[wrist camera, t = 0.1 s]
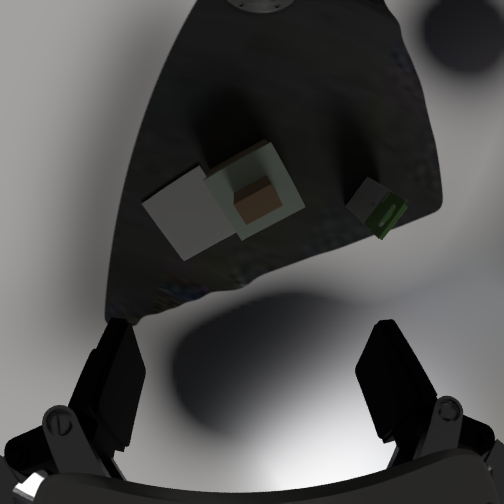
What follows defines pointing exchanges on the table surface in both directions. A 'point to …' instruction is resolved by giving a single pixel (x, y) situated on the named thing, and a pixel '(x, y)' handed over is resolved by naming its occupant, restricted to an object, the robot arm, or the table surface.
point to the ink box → (376, 207)
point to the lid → (255, 191)
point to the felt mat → (189, 214)
